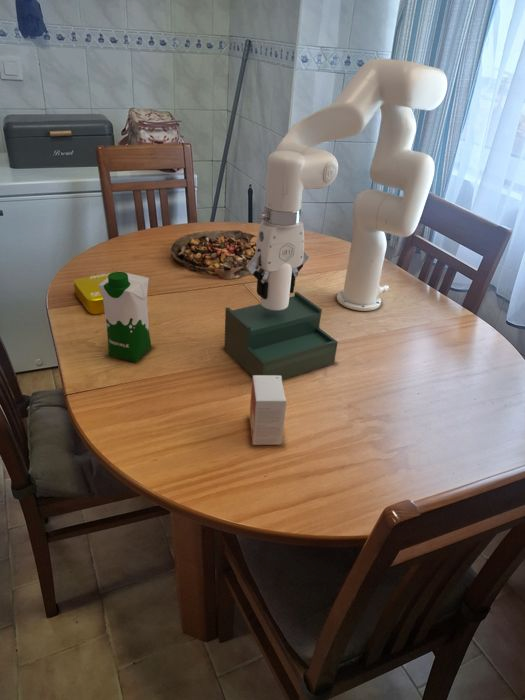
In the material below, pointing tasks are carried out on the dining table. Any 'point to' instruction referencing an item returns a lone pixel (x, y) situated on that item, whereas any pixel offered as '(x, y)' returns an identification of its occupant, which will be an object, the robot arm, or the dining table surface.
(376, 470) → the dining table surface
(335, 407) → the dining table surface
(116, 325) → the milk carton
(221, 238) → the food dish
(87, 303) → the yellow tin box
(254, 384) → the small box
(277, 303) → the can
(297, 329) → the step rack
